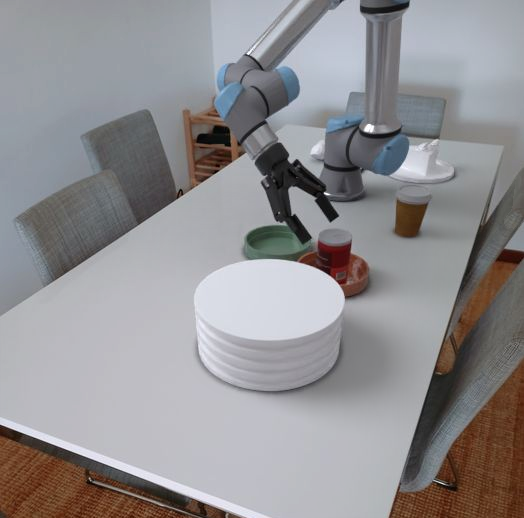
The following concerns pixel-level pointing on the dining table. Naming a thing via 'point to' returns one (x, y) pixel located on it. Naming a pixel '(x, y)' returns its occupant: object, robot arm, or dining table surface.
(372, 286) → the dining table surface
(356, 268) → the terracotta bowl
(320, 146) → the roll
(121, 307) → the dining table surface
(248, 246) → the sage bowl
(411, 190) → the disposable coffee cup
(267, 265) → the plate stack
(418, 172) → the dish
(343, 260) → the canned food
